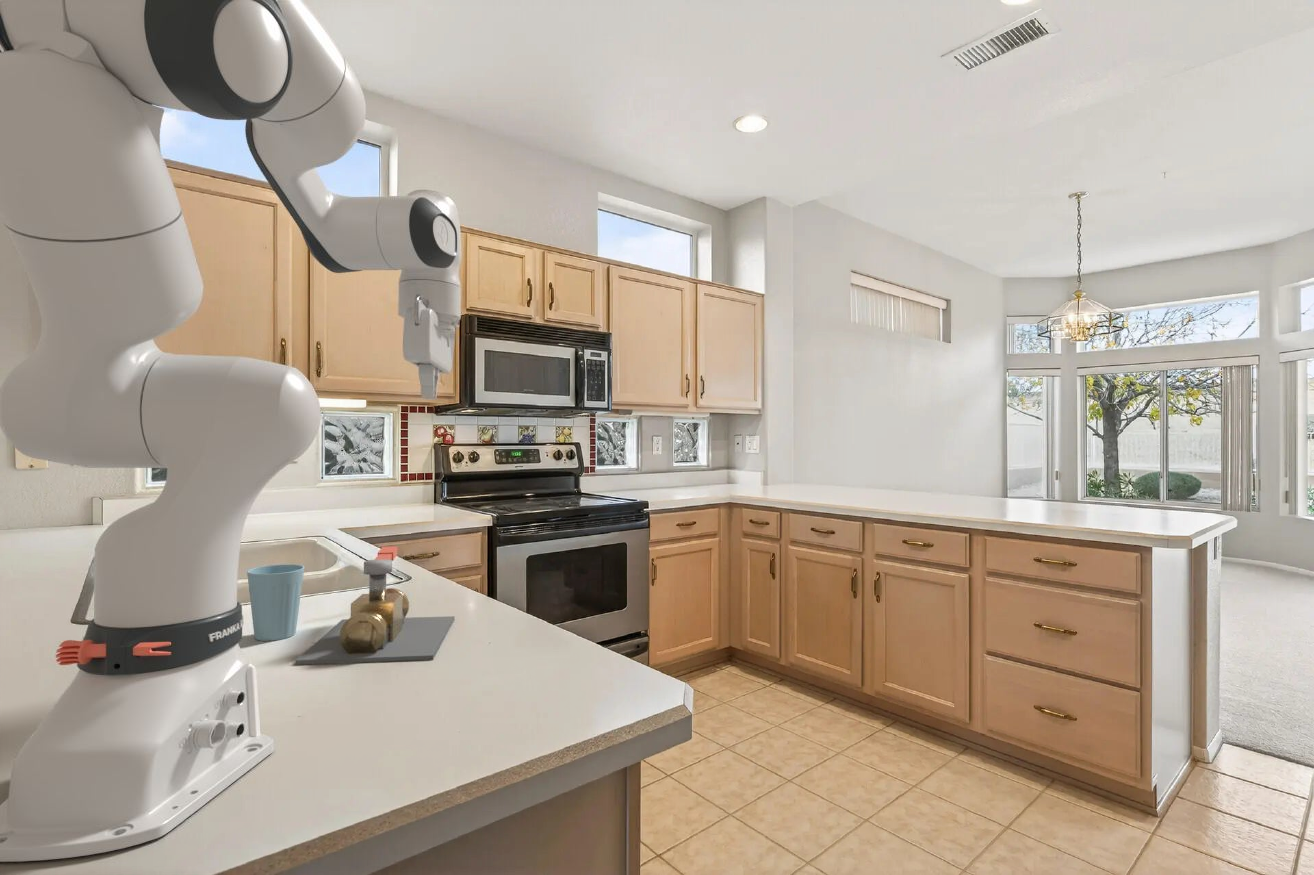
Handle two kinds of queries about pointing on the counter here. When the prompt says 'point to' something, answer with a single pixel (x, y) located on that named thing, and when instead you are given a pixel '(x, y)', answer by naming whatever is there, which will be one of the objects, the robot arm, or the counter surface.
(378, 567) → the lever
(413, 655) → the mat
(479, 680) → the counter surface
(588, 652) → the counter surface
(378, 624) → the valve body
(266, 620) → the cup
